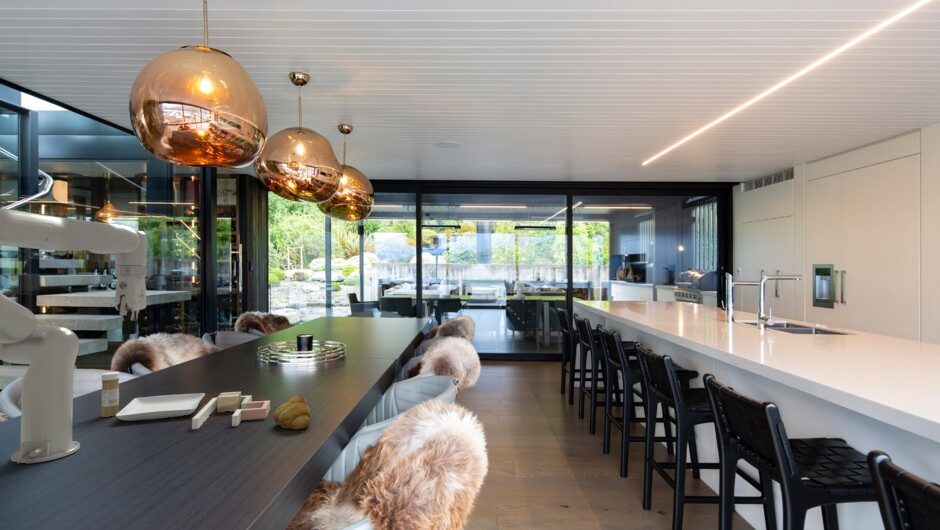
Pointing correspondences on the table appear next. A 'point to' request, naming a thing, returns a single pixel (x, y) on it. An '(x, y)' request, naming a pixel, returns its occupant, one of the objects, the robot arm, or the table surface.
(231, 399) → the block
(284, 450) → the table surface
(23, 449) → the robot arm
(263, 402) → the pastel wall shelf
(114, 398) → the sprinkles bottle
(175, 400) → the salad plate
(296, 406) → the bread roll
